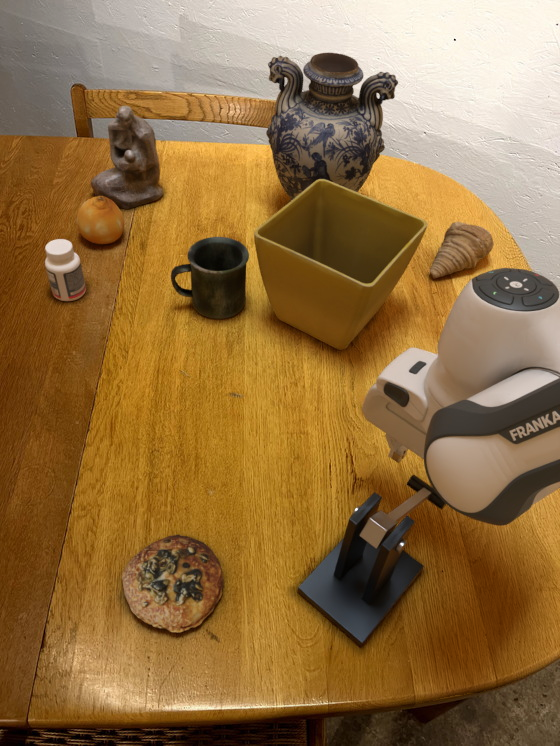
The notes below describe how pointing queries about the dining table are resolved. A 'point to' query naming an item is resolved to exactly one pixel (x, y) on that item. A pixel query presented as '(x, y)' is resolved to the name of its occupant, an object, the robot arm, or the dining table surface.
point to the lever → (399, 512)
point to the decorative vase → (326, 122)
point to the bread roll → (173, 583)
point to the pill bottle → (64, 270)
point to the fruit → (100, 220)
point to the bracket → (362, 576)
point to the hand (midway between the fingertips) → (429, 480)
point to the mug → (215, 276)
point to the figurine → (130, 163)
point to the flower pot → (334, 259)
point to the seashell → (461, 249)
